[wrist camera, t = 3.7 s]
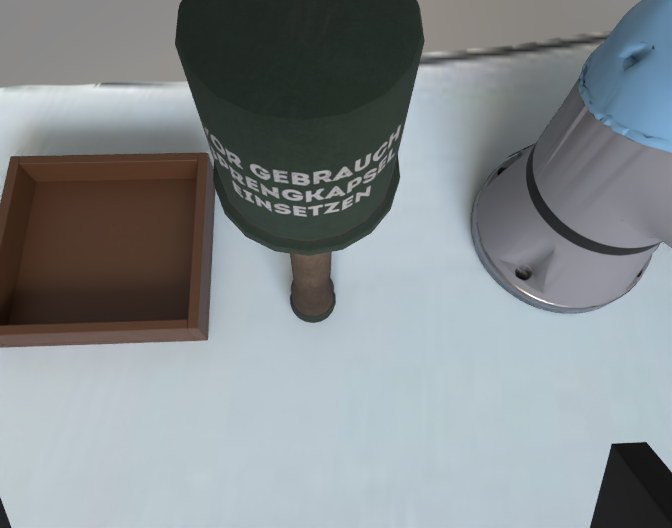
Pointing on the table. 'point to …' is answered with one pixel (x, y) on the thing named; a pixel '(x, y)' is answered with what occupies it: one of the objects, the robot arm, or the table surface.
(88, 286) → the holder
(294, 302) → the potato masher grenade
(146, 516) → the table surface
